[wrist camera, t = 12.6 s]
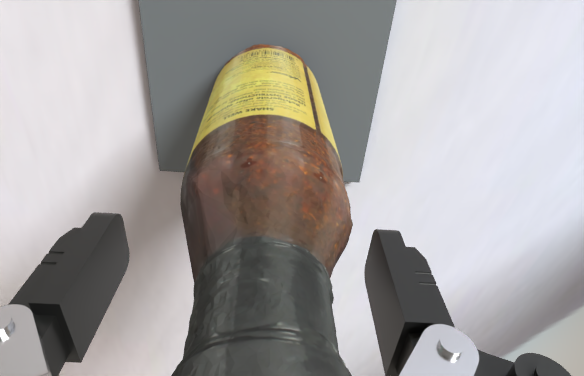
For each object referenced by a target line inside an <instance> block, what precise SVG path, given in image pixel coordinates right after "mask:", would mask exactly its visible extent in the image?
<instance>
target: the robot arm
mask: <svg viewBox="0 0 584 376" xmlns="http://www.w3.org/2000/svg"><path fill="white" fill-rule="evenodd" d="M128 263H129V248H128V243H127V238H126V233H125V228H124V223H123V219H122V216H121V215H120V214H113V213H93V214H91V216H90V217H89V218H88V220H87V221H86V223H85V224H84V225H83V227H82V228H73V229H72V230H70V231H69V232H67V233H66V234H65V235H63V236H62V237H60V238H59V239H58V240H57V242H56V243H55V244H54V246H53V247H52V248H51V249H50V251H49V254H47V255H46V256H45V257H44V259H43V260H42V261H41V265H40V264H39V265H38V266H37V268H36V269H35V270H34V272H33V273H32V274H31V276H30V277H29V278H28V280H27V281H26V282H25V283H24V285H23V286H22V287H21V289H20V290H19V291H18V293H17V294H16V295H15V297H14V298H13V299H12V300H11V302H10V303H9V304H8V305H4V306H0V376H59V373H60V371H61V369H62V367H63V365H64V363H65V362H82V360H83V357H84V355H85V353H86V351H87V349H88V347H89V345H90V343H91V341H92V339H93V337H94V335H95V333H96V331H97V329H98V327H99V325H100V323H101V321H102V319H103V317H104V315H105V313H106V311H107V309H108V307H109V304H110V302H111V300H112V298H113V296H114V294H115V292H116V290H117V288H118V286H119V284H120V282H121V280H122V278H123V276H124V274H125V272H126V270H127V267H128ZM365 284H366V288H367V293H368V298H369V302H370V307H371V311H372V316H373V321H374V325H375V330H376V334H377V339H378V344H379V348H380V353H381V357H382V362H383V367H384V371H385V376H571V375H570V374H569V372H567V371H566V370H565V369H564V368H563V367H562V366H561V365H560V364H558V363H557V362H555V361H553V360H551V359H550V358H548V357H545V356H543V355H540V354H535V353H526V354H523V355H520V356H519V357H518V358H517V359H516V361H515V362H514V363H513V362H511V361H508V360H505V359H502V358H499V357H496V356H493V355H490V354H487V353H484V352H482V351H480V350H478V349H477V348H476V346H475V344H474V343H473V341H472V340H471V339H470V338H469V337H468V336H467V335H466V334H464V333H463V332H462V331H460V330H458V329H456V328H455V327H454V324H453V322H452V320H451V317H450V315H449V313H448V310H447V308H446V305H445V303H444V301H443V298H442V296H441V294H440V291H439V289H438V286H436V282H435V279H434V277H433V275H431V270H430V268H429V265H428V263H427V260H426V259H425V258H424V257H423V256H422V255H421V253H420V252H419V251H418V250H417V249H416V248H415V247H405V244H404V241H403V239H402V236H401V233H400V232H399V231H396V230H378V229H376V230H374V232H373V236H372V240H371V244H370V248H369V252H368V256H367V260H366V264H365Z"/></svg>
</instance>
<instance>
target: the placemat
mask: <svg viewBox="0 0 584 376" xmlns="http://www.w3.org/2000/svg"><path fill="white" fill-rule="evenodd" d="M395 5H396V0H139V8H140V16H141V24H142V32H143V40H144V48H145V56H146V64H147V72H148V80H149V88H150V97H151V105H152V113H153V121H154V129H155V137H156V145H157V153H158V161H159V169H160V171H174V172H185V170H186V166H187V163H188V160H189V157H190V154H191V151H192V148H193V145H194V142H195V139H196V136H197V133H198V130H199V127H200V124H201V122H202V119H203V116H204V113H205V110H206V107H207V104H208V101H209V98H210V95H211V92H212V90H213V87H214V84H215V81H216V79H217V77H218V75H219V73H220V72H221V70H222V69H223V67H224V65H225V64H226V63H227V62H228V61H229V60H230V59H231V58H232V57H233V56H235V55H237V54H238V53H239V52H241V51H243V50H245V49H246V48H249V47H251V46H253V45H258V44H264V45H274V46H281V47H283V48H286V49H289V50H291V51H292V52H294V53H296V54H297V55H299V56H300V57H301V58H302V59H303V61H304V63H305V64H306V65H307V67H309V69H310V70H311V72H312V73H313V75H314V77H315V79H316V81H317V83H318V87H319V90H320V94H321V97H322V100H323V104H324V107H325V110H326V114H327V117H328V120H329V124H330V127H331V130H332V134H333V137H334V140H335V144H336V147H337V150H338V154H339V157H340V161H341V164H342V170H343V181H345V182H359V181H360V176H361V171H362V166H363V161H364V157H365V152H366V147H367V142H368V137H369V132H370V127H371V122H372V117H373V113H374V108H375V103H376V98H377V93H378V88H379V83H380V78H381V74H382V69H383V64H384V59H385V54H386V49H387V44H388V39H389V35H390V30H391V25H392V20H393V15H394V10H395Z"/></svg>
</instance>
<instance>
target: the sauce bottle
mask: <svg viewBox="0 0 584 376" xmlns="http://www.w3.org/2000/svg"><path fill="white" fill-rule="evenodd" d="M181 210H182V217H183V222H184V228H185V234H186V239H187V245H188V250H189V256H190V262H191V267H192V273H193V279H194V305H193V310H192V314H191V317H190V321H189V331H188V336H187V339H186V342H185V348H184V356H183V360H182V361H181V362H180V364H179V365H178V366H177V368H176V370H175V371H174V372H173V374H172V375H171V376H351V374H350V372H349V370H348V369H347V368H346V366H345V363H344V362H343V360H342V358H341V357H340V356H339V351H338V343H337V338H336V329H335V323H334V317H333V311H332V303H333V299H334V297H333V293H332V284H331V281H330V277H331V274H332V271H333V268H334V266H335V265H336V263H337V261H338V259H339V258H340V256H341V254H342V252H343V251H344V249H345V247H346V245H347V243H348V240H349V236H350V233H351V229H352V226H353V223H352V220H351V214H350V203H349V199H348V196H347V192H346V189H345V186H344V181H343V170H342V164H341V161H340V157H339V154H338V150H337V147H336V144H335V140H334V137H333V134H332V130H331V127H330V124H329V120H328V117H327V114H326V110H325V107H324V104H323V100H322V97H321V94H320V90H319V87H318V83H317V81H316V79H315V77H314V75H313V73H312V72H311V70H310V69H309V67H307V65H306V64H305V63H304V61H303V59H302V58H301V57H300V56H299V55H297V54H296V53H294V52H292V51H291V50H289V49H286V48H283V47H281V46H274V45H264V44H258V45H253V46H251V47H249V48H246V49H245V50H243V51H241V52H239V53H238V54H237V55H235V56H233V57H232V58H231V59H230V60H229V61H228V62H227V63H226V64H225V65H224V67H223V69H222V70H221V72H220V73H219V75H218V77H217V79H216V81H215V84H214V87H213V90H212V92H211V95H210V98H209V101H208V104H207V107H206V110H205V113H204V116H203V119H202V122H201V124H200V127H199V130H198V133H197V136H196V139H195V142H194V145H193V148H192V151H191V154H190V157H189V160H188V163H187V166H186V170H185V173H184V177H183V182H182V188H181Z"/></svg>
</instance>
